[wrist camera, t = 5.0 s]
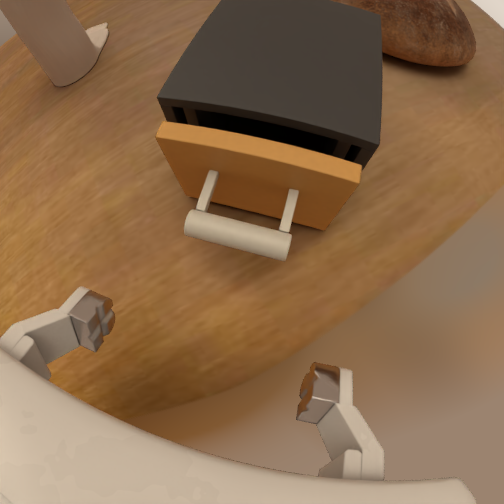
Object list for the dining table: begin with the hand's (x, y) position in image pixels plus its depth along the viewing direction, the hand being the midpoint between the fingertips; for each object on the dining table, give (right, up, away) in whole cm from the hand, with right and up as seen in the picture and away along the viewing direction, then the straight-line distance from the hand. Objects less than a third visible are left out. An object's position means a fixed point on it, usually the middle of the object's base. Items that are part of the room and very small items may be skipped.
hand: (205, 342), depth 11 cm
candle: (-22, +31, +20) cm, 43 cm away
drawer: (+3, +11, +14) cm, 18 cm away
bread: (+22, +38, +21) cm, 49 cm away
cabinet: (+4, +15, +16) cm, 22 cm away
